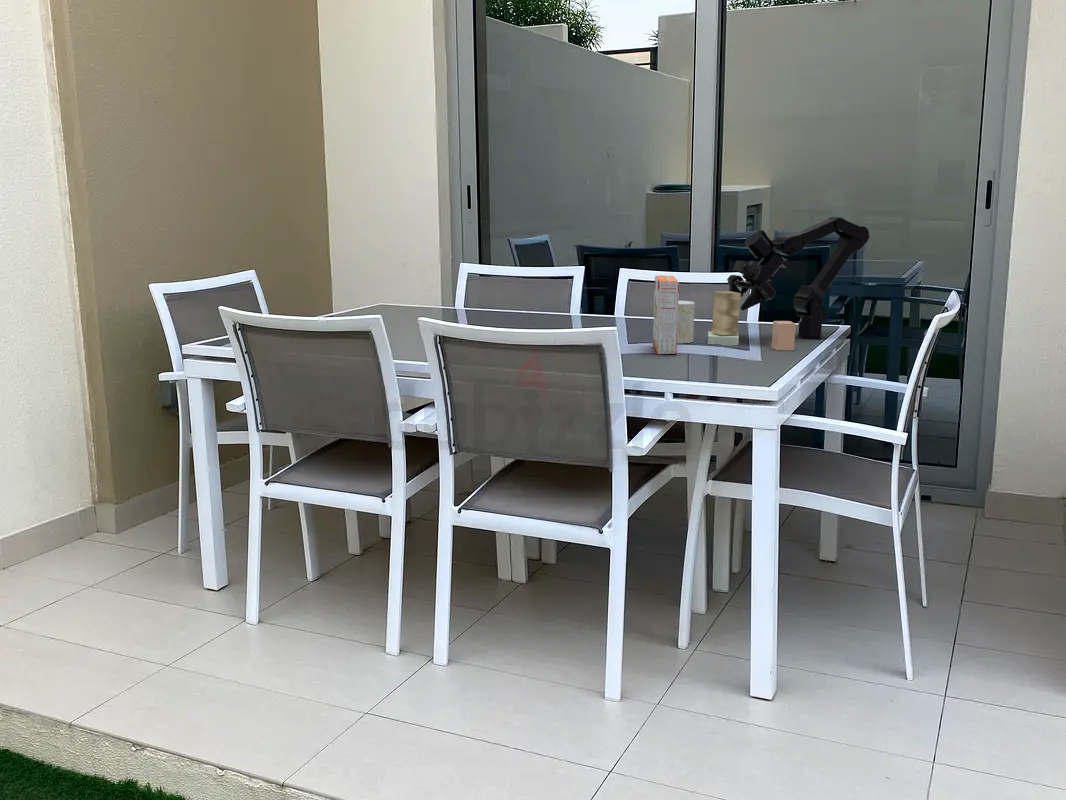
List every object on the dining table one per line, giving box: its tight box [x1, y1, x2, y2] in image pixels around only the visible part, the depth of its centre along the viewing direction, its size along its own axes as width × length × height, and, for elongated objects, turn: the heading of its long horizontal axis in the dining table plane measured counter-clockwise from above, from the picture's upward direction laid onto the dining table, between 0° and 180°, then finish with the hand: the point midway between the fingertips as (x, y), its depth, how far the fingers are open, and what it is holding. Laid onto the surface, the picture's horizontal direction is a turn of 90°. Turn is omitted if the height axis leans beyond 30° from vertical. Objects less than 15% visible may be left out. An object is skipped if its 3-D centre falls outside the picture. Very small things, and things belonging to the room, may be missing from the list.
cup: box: [677, 300, 696, 343], centre depth 310 cm, size 8×8×12 cm
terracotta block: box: [771, 320, 796, 351], centre depth 300 cm, size 5×5×8 cm
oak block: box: [711, 290, 742, 335], centre depth 309 cm, size 6×6×12 cm
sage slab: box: [707, 331, 740, 346], centre depth 311 cm, size 9×9×3 cm
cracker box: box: [652, 275, 680, 356], centre depth 294 cm, size 14×6×21 cm, turn 178°
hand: (733, 307), depth 310 cm, fingers open, 9 cm apart
